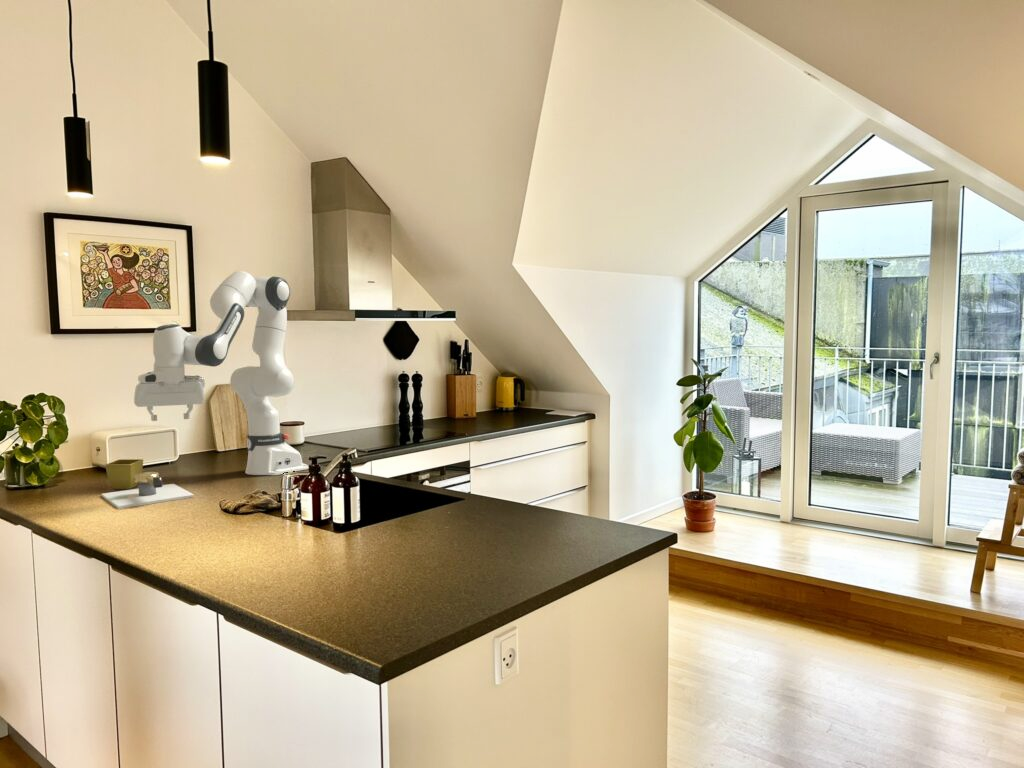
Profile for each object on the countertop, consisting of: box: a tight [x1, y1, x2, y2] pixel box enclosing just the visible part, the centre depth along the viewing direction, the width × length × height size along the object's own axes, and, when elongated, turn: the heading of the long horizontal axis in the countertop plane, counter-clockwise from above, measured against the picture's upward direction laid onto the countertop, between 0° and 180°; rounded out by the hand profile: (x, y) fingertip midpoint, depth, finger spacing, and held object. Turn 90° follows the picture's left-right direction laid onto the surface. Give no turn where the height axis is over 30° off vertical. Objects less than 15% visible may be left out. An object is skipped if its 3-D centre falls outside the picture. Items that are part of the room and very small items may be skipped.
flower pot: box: [104, 458, 144, 490], centre depth 255 cm, size 9×9×9 cm
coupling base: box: [101, 483, 195, 510], centre depth 242 cm, size 22×22×5 cm
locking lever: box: [134, 471, 164, 488], centre depth 238 cm, size 17×7×3 cm, turn 40°
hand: (170, 419), depth 239 cm, fingers open, 8 cm apart
